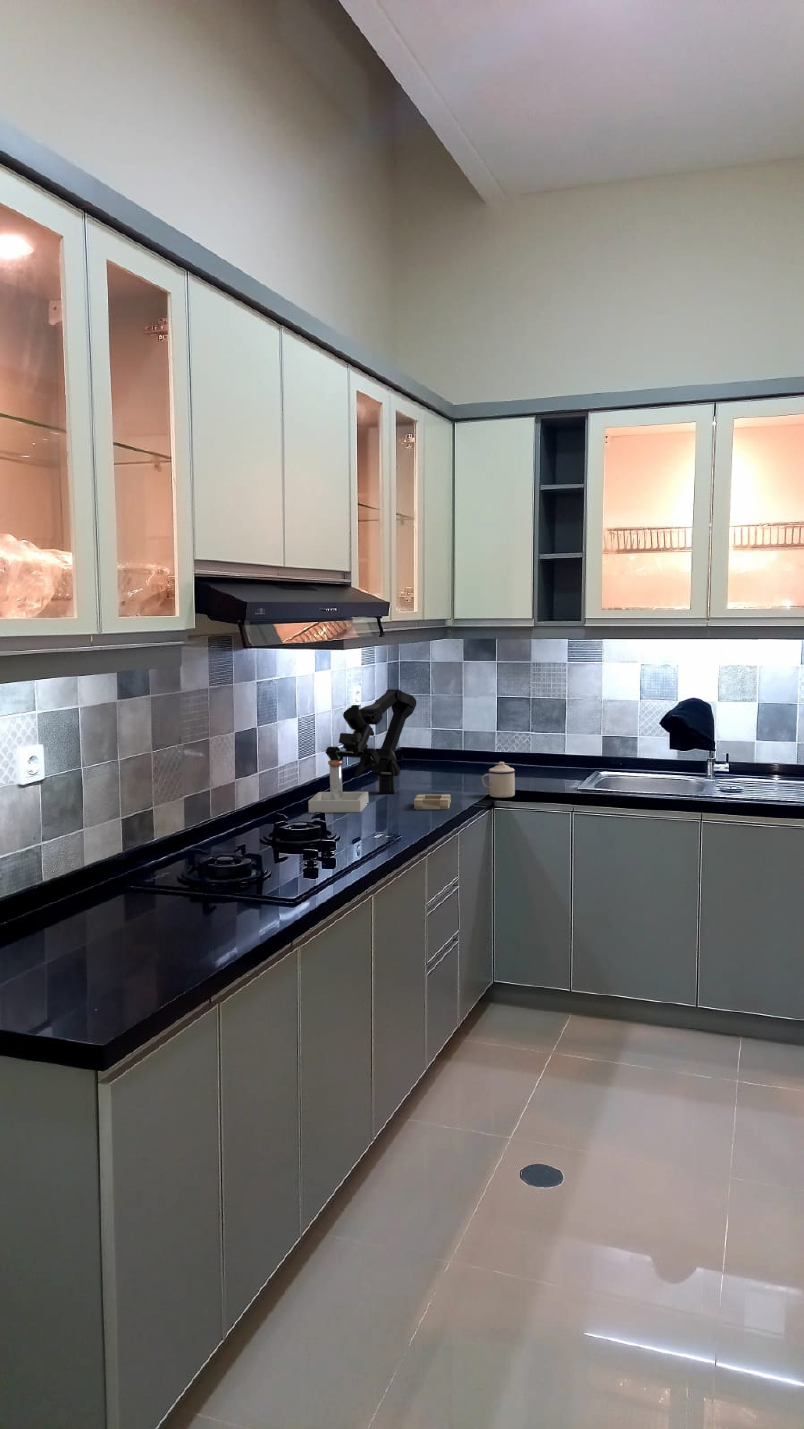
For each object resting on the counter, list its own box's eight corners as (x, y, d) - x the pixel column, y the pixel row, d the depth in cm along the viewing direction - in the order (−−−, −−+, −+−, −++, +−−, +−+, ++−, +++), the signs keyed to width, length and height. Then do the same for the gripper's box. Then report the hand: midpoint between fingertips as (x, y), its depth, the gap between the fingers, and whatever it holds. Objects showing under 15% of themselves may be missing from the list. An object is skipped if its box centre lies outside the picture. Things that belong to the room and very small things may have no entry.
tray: (319, 803, 346) (318, 792, 345) (368, 802, 344) (368, 791, 343) (308, 812, 329) (308, 801, 329) (360, 812, 327) (360, 800, 327)
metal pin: (340, 804, 338) (339, 759, 337) (346, 806, 334) (345, 761, 333) (327, 805, 336) (325, 760, 335) (333, 807, 332) (331, 762, 330)
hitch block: (417, 803, 340) (417, 794, 339) (450, 803, 338) (450, 794, 338) (414, 809, 329) (414, 800, 329) (448, 809, 328) (448, 800, 327)
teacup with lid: (519, 794, 352) (518, 760, 351) (509, 798, 344) (508, 764, 343) (488, 792, 358) (487, 759, 357) (477, 796, 350) (476, 763, 349)
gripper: (327, 723, 346) (310, 759, 337) (374, 724, 337) (358, 762, 328) (340, 743, 353) (324, 779, 345) (386, 744, 344) (371, 782, 336)
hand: (343, 775), depth 338 cm, fingers open, 9 cm apart
